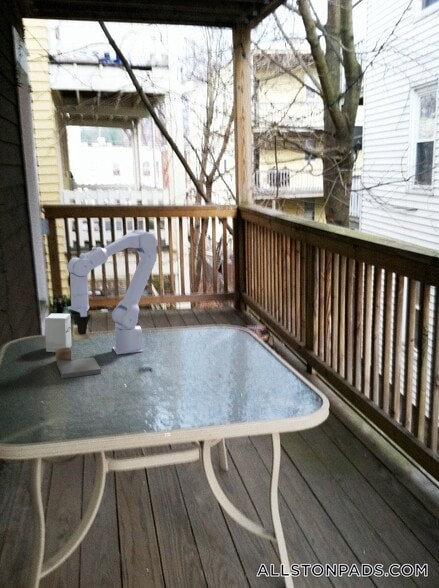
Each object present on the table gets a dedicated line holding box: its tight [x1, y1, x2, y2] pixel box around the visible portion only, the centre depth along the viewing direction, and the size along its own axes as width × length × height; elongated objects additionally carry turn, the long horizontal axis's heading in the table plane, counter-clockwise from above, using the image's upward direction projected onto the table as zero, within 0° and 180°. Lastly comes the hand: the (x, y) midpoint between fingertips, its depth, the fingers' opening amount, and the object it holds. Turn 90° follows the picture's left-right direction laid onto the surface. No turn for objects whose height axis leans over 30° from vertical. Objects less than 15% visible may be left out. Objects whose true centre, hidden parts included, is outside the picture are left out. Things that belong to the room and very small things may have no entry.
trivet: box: [56, 357, 102, 379], centre depth 172 cm, size 12×12×2 cm
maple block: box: [72, 323, 90, 341], centre depth 181 cm, size 4×4×4 cm
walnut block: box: [55, 347, 72, 363], centre depth 179 cm, size 4×4×4 cm
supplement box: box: [44, 313, 72, 353], centre depth 191 cm, size 7×7×13 cm
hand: (81, 332), depth 181 cm, fingers closed on maple block, 4 cm apart
